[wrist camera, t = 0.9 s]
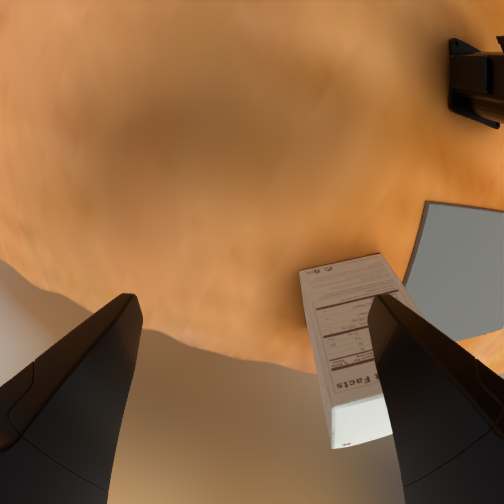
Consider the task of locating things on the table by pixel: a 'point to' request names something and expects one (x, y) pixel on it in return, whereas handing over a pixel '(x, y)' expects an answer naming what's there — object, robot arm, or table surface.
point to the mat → (459, 269)
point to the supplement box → (349, 344)
